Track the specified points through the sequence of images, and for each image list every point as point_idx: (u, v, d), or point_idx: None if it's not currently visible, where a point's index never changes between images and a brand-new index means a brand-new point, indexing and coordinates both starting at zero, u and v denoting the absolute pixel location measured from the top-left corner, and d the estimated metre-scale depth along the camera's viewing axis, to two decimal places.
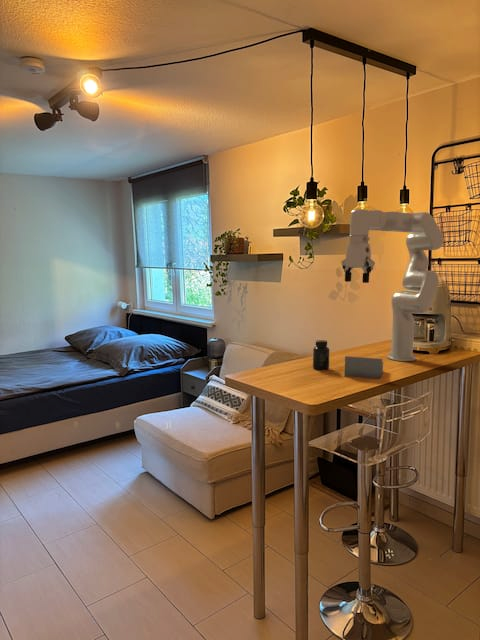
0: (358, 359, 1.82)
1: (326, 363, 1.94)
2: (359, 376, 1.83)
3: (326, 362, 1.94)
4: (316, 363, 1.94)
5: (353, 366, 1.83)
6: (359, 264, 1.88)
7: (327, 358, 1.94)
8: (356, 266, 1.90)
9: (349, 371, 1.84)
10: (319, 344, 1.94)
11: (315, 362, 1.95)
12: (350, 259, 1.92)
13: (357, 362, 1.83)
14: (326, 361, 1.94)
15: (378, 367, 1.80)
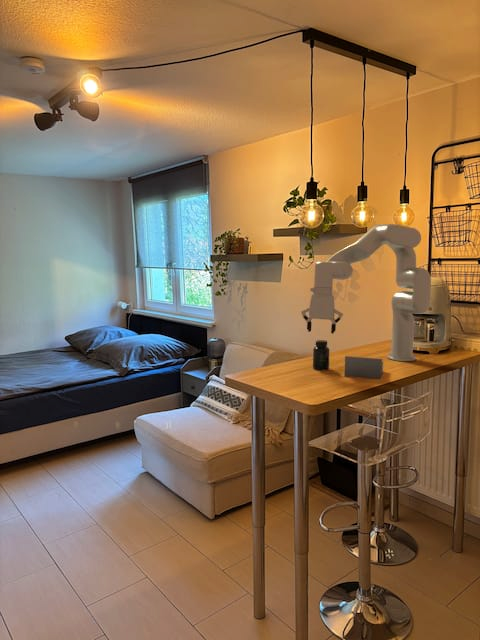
0: (358, 359, 1.82)
1: (326, 363, 1.94)
2: (359, 376, 1.83)
3: (326, 362, 1.94)
4: (316, 363, 1.94)
5: (353, 366, 1.83)
6: None
7: (327, 358, 1.94)
8: None
9: (349, 371, 1.84)
10: (319, 344, 1.94)
11: (315, 362, 1.95)
12: None
13: (357, 362, 1.83)
14: (326, 361, 1.94)
15: (378, 367, 1.80)
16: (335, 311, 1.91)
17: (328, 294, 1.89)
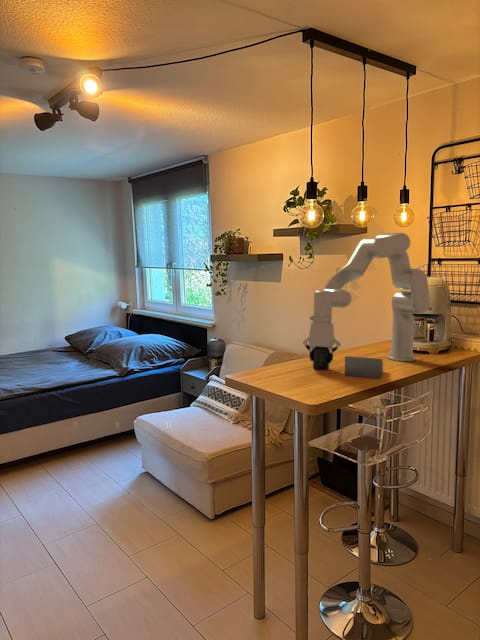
0: (358, 359, 1.82)
1: (326, 363, 1.94)
2: (359, 376, 1.83)
3: (326, 362, 1.94)
4: (316, 363, 1.94)
5: (353, 366, 1.83)
6: None
7: (327, 358, 1.94)
8: None
9: (349, 371, 1.84)
10: None
11: (315, 362, 1.95)
12: None
13: (357, 362, 1.83)
14: (326, 361, 1.94)
15: (378, 367, 1.80)
16: (334, 340, 1.93)
17: (327, 323, 1.91)
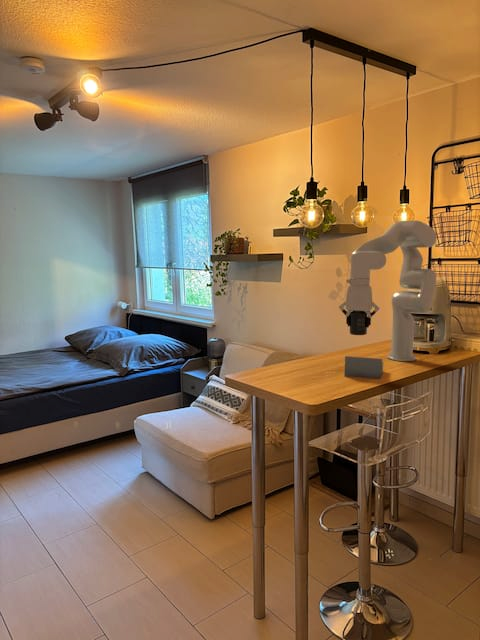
0: (358, 359, 1.82)
1: (364, 328, 1.86)
2: (359, 376, 1.83)
3: (364, 327, 1.86)
4: (354, 328, 1.86)
5: (353, 366, 1.83)
6: None
7: (365, 322, 1.86)
8: None
9: (349, 371, 1.84)
10: None
11: (352, 327, 1.87)
12: None
13: (357, 362, 1.83)
14: (364, 326, 1.86)
15: (378, 367, 1.80)
16: (372, 304, 1.85)
17: (366, 285, 1.83)
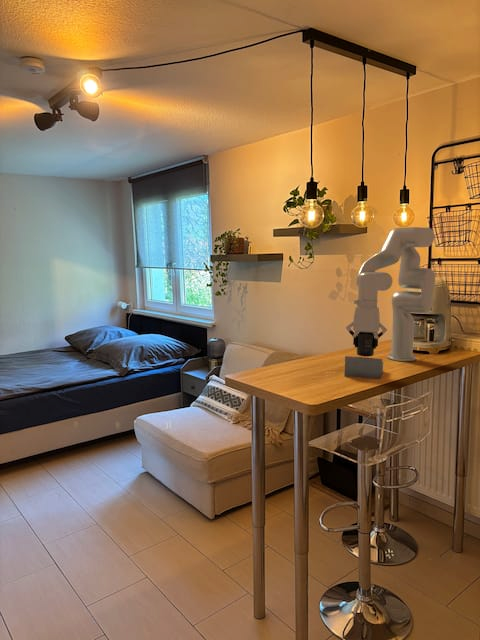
0: (358, 359, 1.82)
1: (371, 349, 1.86)
2: (359, 376, 1.83)
3: (371, 348, 1.86)
4: (361, 349, 1.86)
5: (353, 366, 1.83)
6: None
7: (372, 344, 1.86)
8: None
9: (349, 371, 1.84)
10: None
11: (360, 348, 1.87)
12: None
13: (357, 362, 1.83)
14: (371, 347, 1.86)
15: (378, 367, 1.80)
16: (380, 325, 1.85)
17: (373, 307, 1.83)
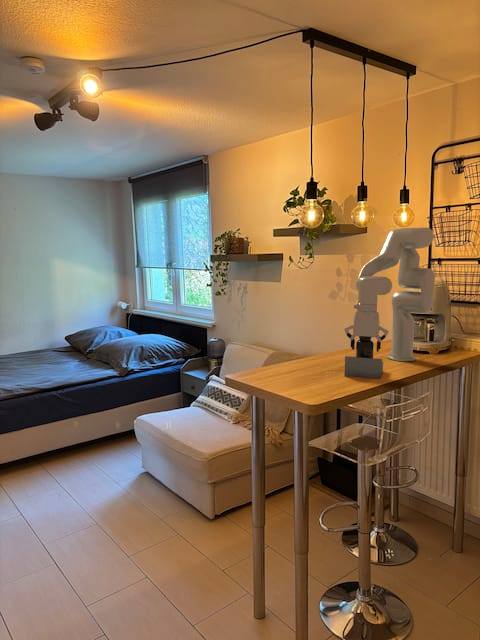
0: (358, 359, 1.82)
1: (370, 357, 1.86)
2: (359, 376, 1.83)
3: (370, 356, 1.86)
4: None
5: (353, 366, 1.83)
6: None
7: (371, 352, 1.87)
8: None
9: (349, 371, 1.84)
10: (363, 337, 1.86)
11: (359, 356, 1.87)
12: None
13: (357, 362, 1.83)
14: (370, 355, 1.86)
15: (378, 367, 1.80)
16: (380, 328, 1.85)
17: (373, 311, 1.83)
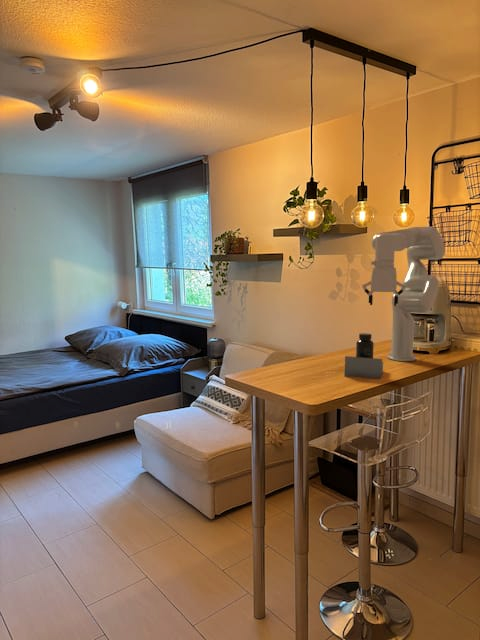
0: (358, 359, 1.82)
1: (370, 357, 1.86)
2: (359, 376, 1.83)
3: (370, 356, 1.86)
4: None
5: (353, 366, 1.83)
6: None
7: (371, 352, 1.87)
8: None
9: (349, 371, 1.84)
10: (363, 337, 1.86)
11: (359, 356, 1.87)
12: None
13: (357, 362, 1.83)
14: (370, 355, 1.86)
15: (378, 367, 1.80)
16: (398, 283, 1.91)
17: (391, 266, 1.89)
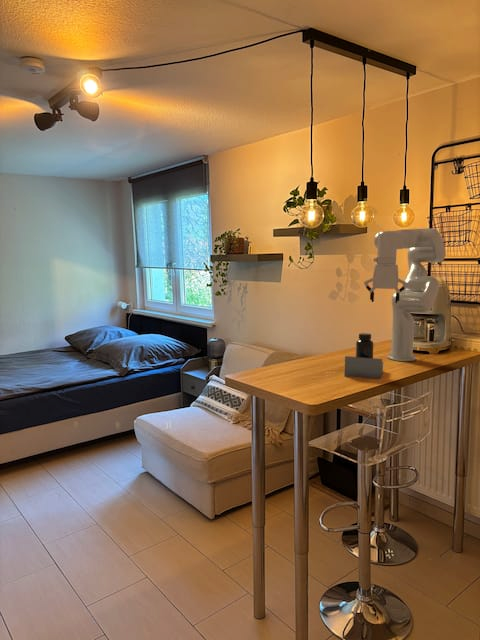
0: (358, 359, 1.82)
1: (370, 357, 1.86)
2: (359, 376, 1.83)
3: (370, 356, 1.86)
4: None
5: (353, 366, 1.83)
6: None
7: (371, 352, 1.87)
8: None
9: (349, 371, 1.84)
10: (363, 337, 1.86)
11: (359, 356, 1.87)
12: None
13: (357, 362, 1.83)
14: (370, 355, 1.86)
15: (378, 367, 1.80)
16: (399, 280, 1.92)
17: (393, 263, 1.90)
